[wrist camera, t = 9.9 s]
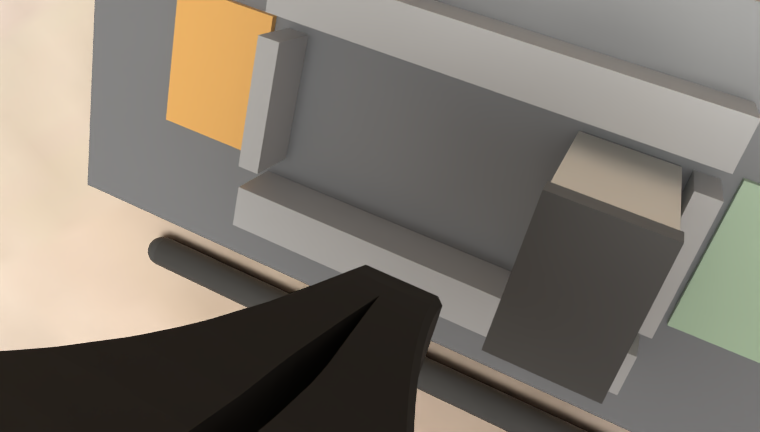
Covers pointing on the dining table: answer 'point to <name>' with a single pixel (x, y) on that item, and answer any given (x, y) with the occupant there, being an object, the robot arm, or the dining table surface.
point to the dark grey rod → (521, 420)
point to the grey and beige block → (589, 266)
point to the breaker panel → (452, 156)
